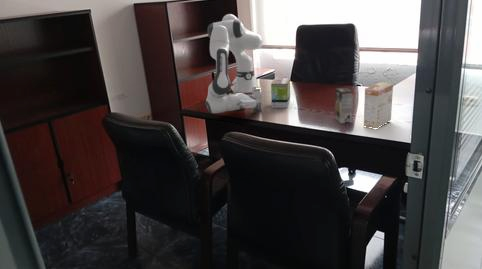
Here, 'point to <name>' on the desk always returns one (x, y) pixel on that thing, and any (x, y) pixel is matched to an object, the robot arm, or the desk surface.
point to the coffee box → (343, 105)
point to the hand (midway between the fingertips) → (257, 98)
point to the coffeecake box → (378, 104)
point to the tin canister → (256, 95)
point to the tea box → (280, 92)
